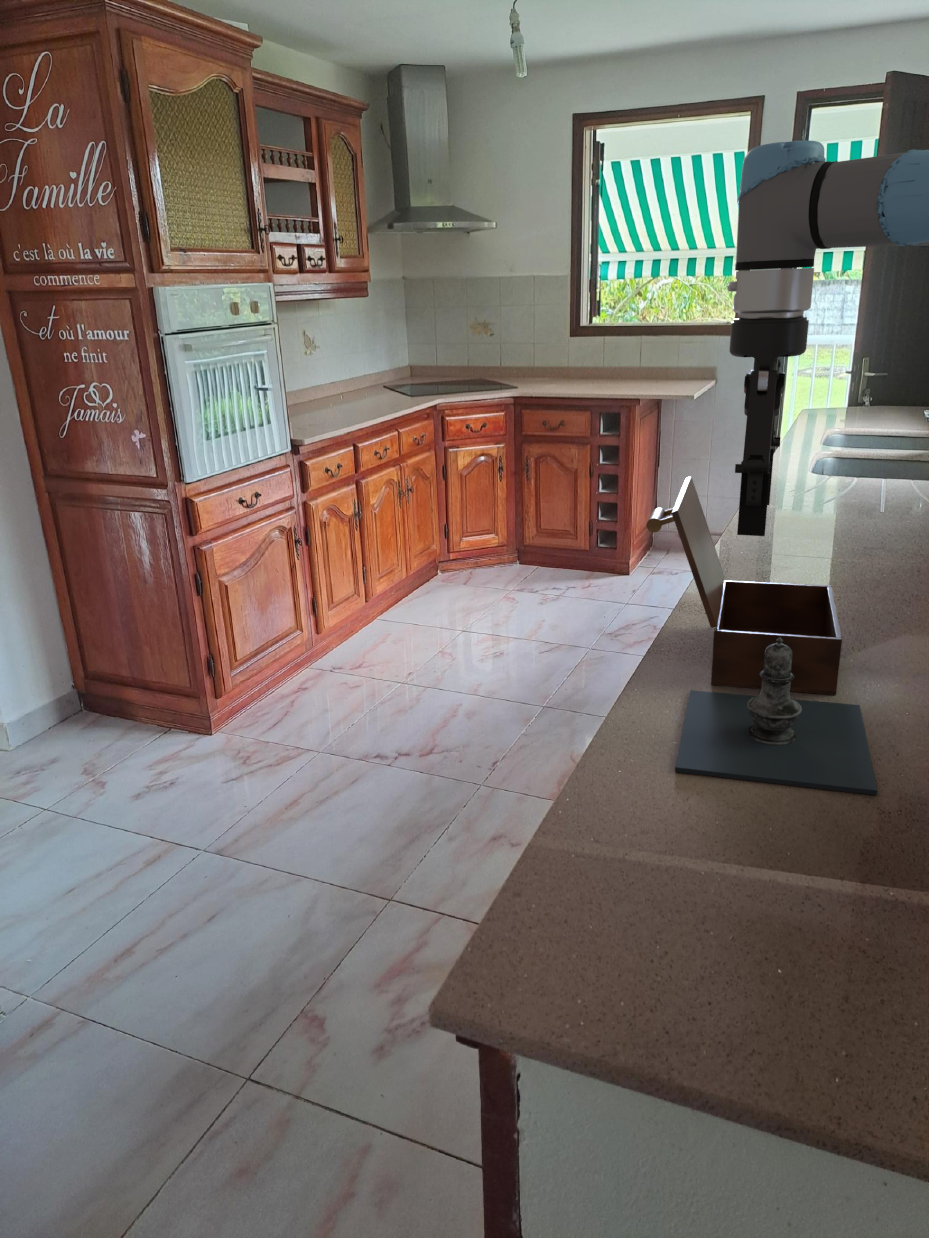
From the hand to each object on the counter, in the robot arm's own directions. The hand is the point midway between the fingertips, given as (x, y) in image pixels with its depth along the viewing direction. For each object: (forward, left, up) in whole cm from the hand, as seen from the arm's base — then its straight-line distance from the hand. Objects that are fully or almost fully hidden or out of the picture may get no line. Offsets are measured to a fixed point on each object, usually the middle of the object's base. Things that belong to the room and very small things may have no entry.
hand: (754, 518), depth 97 cm
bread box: (-4, -20, -25) cm, 32 cm away
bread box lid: (+6, -20, -9) cm, 23 cm away
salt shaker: (-4, +4, -24) cm, 25 cm away
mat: (-4, +4, -25) cm, 25 cm away
